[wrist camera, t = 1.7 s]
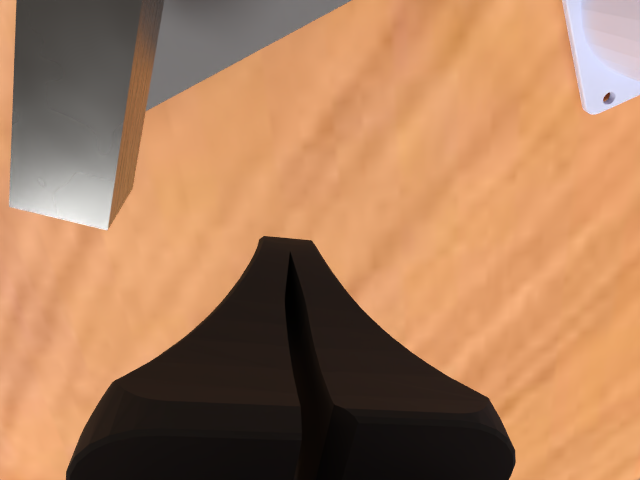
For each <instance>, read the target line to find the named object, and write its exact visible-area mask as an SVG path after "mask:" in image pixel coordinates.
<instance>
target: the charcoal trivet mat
mask: <svg viewBox="0 0 640 480" xmlns="http://www.w3.org/2000/svg"><path fill="white" fill-rule="evenodd" d="M349 1H351V0H164V6H163V12H162V18H161V24H160V29H159V35H158V41H157V47H156V53H155V59H154V65H153V70H152V76H151V82H150V88H149V94H148V100H147V106H146V111H147V110H149V109H151V108H153V107H154V106H156V105H158V104H160V103H162V102H164V101H165V100H167V99H169V98H171V97H173V96H175V95H177V94H179V93H180V92H182V91H184V90H186V89H188V88H190V87H191V86H193V85H195V84H197V83H199V82H201V81H203V80H204V79H206V78H208V77H210V76H212V75H214V74H216V73H217V72H219V71H221V70H223V69H225V68H227V67H229V66H230V65H232V64H234V63H236V62H238V61H240V60H242V59H243V58H245V57H247V56H249V55H251V54H253V53H255V52H256V51H258V50H260V49H262V48H264V47H266V46H268V45H269V44H271V43H273V42H275V41H277V40H279V39H281V38H282V37H284V36H286V35H288V34H290V33H292V32H294V31H295V30H297V29H299V28H301V27H303V26H305V25H307V24H308V23H310V22H312V21H314V20H316V19H318V18H320V17H321V16H323V15H325V14H327V13H329V12H331V11H333V10H334V9H336V8H338V7H340V6H342V5H344V4H346V3H347V2H349Z"/></svg>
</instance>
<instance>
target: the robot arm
mask: <svg viewBox="0 0 640 480" xmlns="http://www.w3.org/2000/svg"><path fill="white" fill-rule="evenodd" d="M562 3H563V8H564V14H565V19H566V24H567V30H568V35H569V40H570V45H571V51H572V56H573V61H574V66H575V72H576V77H577V82H578V88H579V93H580V98H581V103H582V107H583V110H584V111H586V112H587V113H589V114H593V115H595V114H599V113H601V112H603V111H605V110H608V109H610V108H612V107H614V106H616V105H619V104H621V103H623V102H625V101H627V100H630V99H632V98H634V97H636V96H638V95H640V0H562ZM609 92H610V97H609V98H608V100H606V101H604V102H603V98H604V96H605V95H606V94H607V93H609ZM515 463H516V461H515V449H514V447H513V445H512V443H511V441H510V439H509V437H508V434H507V432H506V430H505V428H504V425H503V423H502V421H501V419H500V417H499V416H498V414H497V412H496V410H495V409H494V407H493V405H492V403H491V402H490V400H489V398H488V397H486V396H484V395H482V394H480V393H478V392H476V391H474V390H473V389H471V388H469V387H467V386H465V385H463V384H461V383H459V382H458V381H456V380H454V379H452V378H450V377H448V376H447V375H445V374H443V373H442V372H440V371H439V370H437V369H436V368H434V367H432V366H431V365H429V364H428V363H426V362H425V361H423V360H422V359H420V358H419V357H417V356H416V355H415V354H413V353H412V352H410V351H409V350H408V349H407V348H405V347H404V346H403V345H401V344H400V343H399V342H397V341H396V340H395V339H394V338H392V337H391V336H390V335H389V334H388V333H387V332H385V331H384V330H383V329H382V328H381V327H380V326H379V325H378V324H377V323H376V322H375V321H373V320H372V319H371V318H370V317H369V316H368V315H367V314H366V313H365V312H364V311H363V310H362V309H361V308H360V307H359V305H358V304H357V303H356V302H355V301H354V300H353V298H352V297H351V296H350V295H349V294H348V292H347V291H346V290H345V289H344V287H343V286H342V285H341V283H340V282H339V281H338V279H337V278H336V276H335V275H334V274H333V272H332V271H331V269H330V268H329V266H328V265H327V263H326V262H325V260H324V259H323V257H322V256H321V254H320V252H319V251H318V249H317V248H316V246H315V244H314V243H313V242H312V241H311V240H301V239H290V238H279V237H268V236H263V237H262V238H261V239H259V243H258V246H257V249H256V252H255V254H254V256H253V258H252V259H251V261H250V263H249V265H248V266H247V268H246V270H245V271H244V273H243V274H242V276H241V277H240V279H239V280H238V282H237V283H236V284H235V286H234V287H233V288H232V290H231V291H230V292H229V293H228V295H227V296H226V297H225V298H224V300H223V301H222V302H221V303H220V304H219V305H218V306H217V307H216V309H215V310H214V311H213V312H212V313H211V314H210V315H209V316H208V317H207V318H206V319H205V320H204V321H202V322H201V323H200V324H199V325H198V326H197V327H196V328H195V329H194V330H192V331H191V332H190V333H189V334H188V335H187V336H185V337H184V338H183V339H182V340H180V341H179V342H178V343H176V344H175V345H173V346H172V347H170V348H169V349H168V350H166V351H165V352H163V353H162V354H161V355H159V356H158V357H156V358H155V359H153V360H152V361H150V362H149V363H147V364H145V365H143V366H141V367H139V368H138V369H136V370H134V371H132V372H130V373H128V374H127V375H125V376H123V377H121V378H119V379H117V380H115V381H114V382H112V384H111V385H110V387H109V388H108V389H107V391H106V392H105V394H104V395H103V397H102V398H101V400H100V401H99V403H98V405H97V406H96V408H95V410H94V411H93V413H92V415H91V417H90V418H89V420H88V422H87V424H86V426H85V427H84V429H83V432H82V434H81V436H80V438H79V441H78V443H77V446H76V448H75V451H74V453H73V456H72V458H71V461H70V463H69V466H68V468H67V471H66V480H509V478H510V476H511V474H512V471H513V469H514V466H515Z"/></svg>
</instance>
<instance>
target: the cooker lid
mask: <svg viewBox="0 0 640 480" xmlns="http://www.w3.org/2000/svg"><path fill="white" fill-rule="evenodd" d="M163 6H164V0H17V4H16V31H15V59H14V86H13V113H12V141H11V168H10V196H9V207H12V208H16V209H20V210H25V211H29V212H33V213H37V214H41V215H45V216H50V217H54V218H58V219H62V220H66V221H71V222H75V223H79V224H83V225H87V226H91V227H96V228H100V229H104V230H108V229H109V227H110V225H111V224H112V222H113V220H114V219H115V217H116V215H117V214H118V212H119V210H120V209H121V207H122V205H123V203H124V202H125V200H126V198H127V197H128V195H129V193H130V192H131V190H132V187H133V182H134V176H135V170H136V164H137V158H138V152H139V146H140V141H141V135H142V129H143V123H144V117H145V111H146V106H147V100H148V94H149V88H150V82H151V76H152V70H153V65H154V59H155V53H156V47H157V41H158V35H159V29H160V24H161V18H162V12H163Z"/></svg>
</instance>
